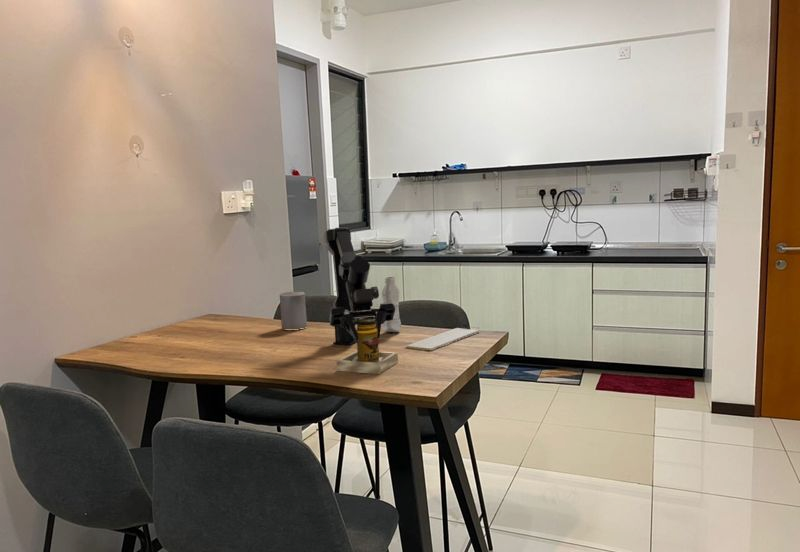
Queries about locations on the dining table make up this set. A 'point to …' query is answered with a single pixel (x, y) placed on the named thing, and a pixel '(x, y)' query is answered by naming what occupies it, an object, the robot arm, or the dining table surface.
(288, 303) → the pillar candle
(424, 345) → the baseboard molding
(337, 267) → the robot arm
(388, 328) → the plastic bottle
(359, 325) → the condiment
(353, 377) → the dining table surface
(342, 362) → the caddy
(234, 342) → the dining table surface
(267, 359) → the dining table surface
